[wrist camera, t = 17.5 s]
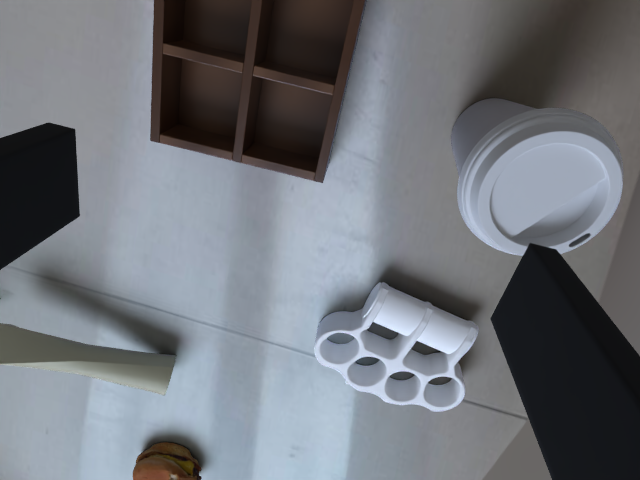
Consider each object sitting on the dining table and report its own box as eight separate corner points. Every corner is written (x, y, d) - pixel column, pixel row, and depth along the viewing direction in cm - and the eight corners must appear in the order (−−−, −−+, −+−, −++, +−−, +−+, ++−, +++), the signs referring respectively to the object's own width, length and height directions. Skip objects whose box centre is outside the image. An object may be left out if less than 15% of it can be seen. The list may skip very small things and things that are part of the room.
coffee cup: (447, 199, 42) (481, 284, 28) (421, 102, 38) (446, 148, 25) (553, 168, 39) (644, 246, 26) (537, 61, 35) (633, 88, 22)
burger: (138, 469, 67) (122, 499, 63) (146, 432, 63) (130, 461, 59) (198, 488, 68) (187, 519, 64) (211, 453, 64) (199, 483, 59)
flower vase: (179, 335, 64) (-105, 275, 54) (194, 292, 55) (-140, 212, 45) (157, 417, 56) (-179, 364, 46) (171, 381, 47) (-238, 308, 38)
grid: (397, -132, 31) (400, -154, 27) (327, 166, 42) (322, 183, 37) (188, -183, 31) (159, -213, 27) (172, 128, 42) (150, 140, 38)
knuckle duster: (500, 328, 48) (431, 409, 54) (353, 263, 46) (300, 355, 53) (508, 349, 45) (434, 432, 52) (351, 280, 43) (296, 375, 50)
